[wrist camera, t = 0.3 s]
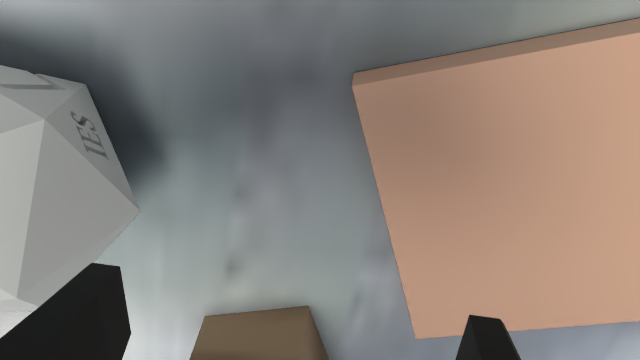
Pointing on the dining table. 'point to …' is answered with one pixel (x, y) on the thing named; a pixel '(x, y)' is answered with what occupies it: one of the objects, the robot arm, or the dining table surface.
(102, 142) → the die
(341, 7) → the dining table surface
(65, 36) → the dining table surface
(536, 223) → the tile
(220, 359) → the cube
